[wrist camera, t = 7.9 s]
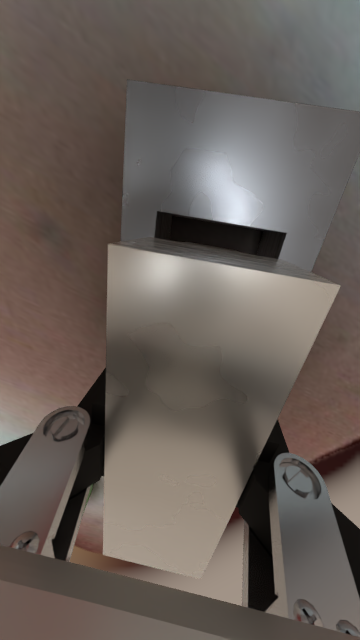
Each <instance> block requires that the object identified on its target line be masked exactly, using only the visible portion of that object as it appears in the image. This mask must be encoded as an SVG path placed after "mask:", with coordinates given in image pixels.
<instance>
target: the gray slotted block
mask: <svg viewBox="0 0 360 640" xmlns="http://www.w3.org/2000/svg"><path fill="white" fill-rule="evenodd" d="M359 153H360V112H358V111H350V110H343V109H336V108H329V107H322V106H315V105H307V104H300V103H293V102H286V101H279V100H271V99H264V98H257V97H250V96H243V95H236V94H228V93H221V92H214V91H207V90H200V89H192V88H185V87H178V86H171V85H164V84H157V83H149V82H142V81H135V80H128V79H127V96H126V121H125V146H124V171H123V196H122V222H121V242H122V241H128V240H134V239H140V238H146V237H155V238H161V239H166V240H169V239H170V231H171V223H172V216H177V217H183V218H189V219H195V220H200V221H206V222H212V223H218V224H224V225H230V226H236V227H242V228H247V229H253V230H259V231H263V233H262V237H261V240H260V244H259V247H258V251H257V254H256V255H257V256H263V257H269V258H275V259H280V260H284V261H287V262H289V263H291V264H293V265H296V266H298V267H300V268H302V269H305V270H307V271H309V272H311V271H312V269H313V266H314V264H315V261H316V259H317V256H318V254H319V251H320V249H321V247H322V244H323V242H324V239H325V237H326V234H327V232H328V229H329V227H330V224H331V222H332V219H333V217H334V215H335V212H336V210H337V207H338V205H339V202H340V200H341V197H342V195H343V192H344V190H345V187H346V185H347V183H348V180H349V178H350V175H351V173H352V170H353V168H354V165H355V163H356V160H357V158H358V155H359Z"/></svg>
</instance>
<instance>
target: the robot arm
mask: <svg viewBox="0 0 360 640" xmlns="http://www.w3.org/2000/svg"><path fill="white" fill-rule="evenodd" d="M105 399H106V368H105V369H104V371H103V372H102V373H101V375H100V376H99V377H98V379H97V380H96V382H95V383H94V384H93V386H92V387H91V388H90V390H89V391H88V393H87V394H86V395H85V397H84V398H83V399H82V401H81V402H80V403H79V405H78V406H77V407H76V406H66V407H63V408H59V409H57V410H55V411H53V412H51V413H50V414H48V415H47V416H46V417H44V419H43V420H42V421H41V422H40V424H39V425H38V427H37V428H36V430H35V432H34V433H32V434H30V435H27V436H24V437H22V438H19V439H17V440H14V441H12V442H9V443H6V444H4V445H1V446H0V640H360V529H359V528H358V527H357V526H356V525H355V524H354V523H352V522H351V521H350V520H349V519H348V518H347V517H346V516H345V515H344V514H343V513H342V512H340V511H339V510H338V509H337V508H336V507H335V506H334V505H333V504H332V503H331V501H330V498H329V494H328V490H327V487H326V485H325V483H324V480H323V478H322V477H321V476H320V474H319V473H318V471H317V470H316V469H315V468H314V467H313V466H312V465H311V464H310V463H309V462H307V461H306V460H304V459H303V458H301V457H299V456H297V455H295V454H291V453H289V450H288V448H287V445H286V442H285V439H284V436H283V433H282V431H281V428H280V425H279V422H278V419H277V421H276V423H275V425H274V427H273V429H272V431H271V433H270V435H269V437H268V439H267V441H266V444H265V446H264V448H263V450H262V452H261V454H260V456H259V458H258V460H257V462H256V465H255V467H254V469H253V471H252V473H251V475H250V477H249V479H248V481H247V483H246V486H245V488H244V490H243V492H242V494H241V496H240V498H239V500H238V502H237V504H236V507H238V508H239V514H240V515H241V516H242V517H243V519H244V544H243V582H242V606H239V605H236V604H231V603H228V602H224V601H220V600H216V599H212V598H208V597H204V596H201V595H197V594H193V593H189V592H185V591H181V590H177V589H173V588H169V587H165V586H162V585H158V584H153V583H150V582H146V581H142V580H138V579H134V578H130V577H126V576H122V575H118V574H115V573H111V572H106V571H103V570H99V569H95V568H91V567H87V566H83V565H79V564H75V563H71V562H69V561H70V558H71V554H72V551H73V547H74V544H75V540H76V537H77V533H78V530H79V526H80V523H81V519H82V516H83V512H84V509H85V505H86V502H87V498H88V495H89V491H90V488H91V485H92V484H94V483H96V482H97V481H99V480H100V478H101V476H104V461H105Z"/></svg>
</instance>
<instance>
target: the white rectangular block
mask: <svg viewBox="0 0 360 640" xmlns="http://www.w3.org/2000/svg"><path fill="white" fill-rule="evenodd" d="M339 288H340V285H338V284H336V283H334V282H332V281H329V280H327V279H325V278H323V277H320V276H318V275H316V274H314V273H311V272H309V271H307V270H305V269H302V268H300V267H298V266H296V265H293V264H291V263H289V262H287V261H284V260H280V259H275V258H269V257H263V256H257V255H252V254H246V253H241V252H240V251H238V250H232V249H227V248H221V247H215V246H210V245H204V244H198V243H192V242H187V241H186V242H178V241H172V240H166V239H161V238H155V237H146V238H140V239H134V240H128V241H122V242H116V243H111V244H108V275H107V337H106V399H105V461H104V523H103V555H107V556H110V557H114V558H118V559H122V560H126V561H130V562H134V563H138V564H142V565H146V566H150V567H154V568H158V569H162V570H166V571H170V572H174V573H178V574H182V575H186V576H190V577H194V578H197V579H201V578H202V575H203V573H204V572H205V569H206V567H207V565H208V563H209V561H210V559H211V557H212V555H213V552H214V550H215V548H216V546H217V544H218V542H219V540H220V538H221V536H222V534H223V532H224V530H225V527H226V525H227V523H228V521H229V519H230V517H231V515H232V513H233V511H234V509H235V507H236V504H237V502H238V500H239V498H240V496H241V494H242V492H243V490H244V488H245V486H246V483H247V481H248V479H249V477H250V475H251V473H252V471H253V469H254V467H255V465H256V462H257V460H258V458H259V456H260V454H261V452H262V450H263V448H264V446H265V444H266V441H267V439H268V437H269V435H270V433H271V431H272V429H273V427H274V425H275V423H276V421H277V418H278V416H279V414H280V412H281V410H282V408H283V406H284V404H285V402H286V400H287V397H288V395H289V393H290V391H291V389H292V387H293V385H294V383H295V381H296V379H297V376H298V374H299V372H300V370H301V368H302V366H303V364H304V362H305V360H306V358H307V356H308V353H309V351H310V349H311V347H312V345H313V343H314V341H315V339H316V337H317V335H318V332H319V330H320V328H321V326H322V324H323V322H324V320H325V318H326V316H327V314H328V311H329V309H330V307H331V305H332V303H333V301H334V299H335V297H336V295H337V293H338V290H339Z"/></svg>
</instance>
